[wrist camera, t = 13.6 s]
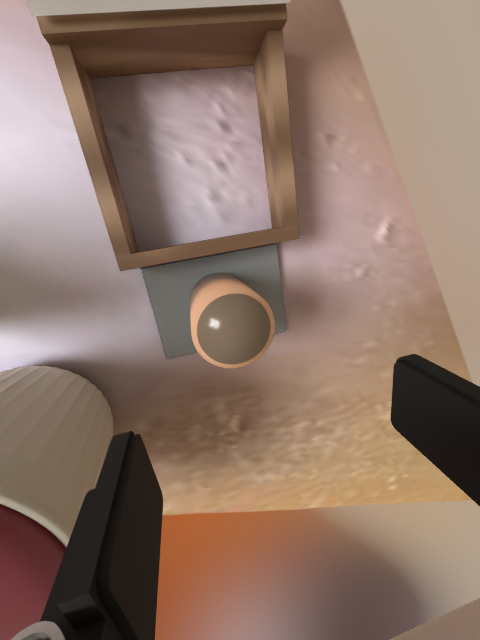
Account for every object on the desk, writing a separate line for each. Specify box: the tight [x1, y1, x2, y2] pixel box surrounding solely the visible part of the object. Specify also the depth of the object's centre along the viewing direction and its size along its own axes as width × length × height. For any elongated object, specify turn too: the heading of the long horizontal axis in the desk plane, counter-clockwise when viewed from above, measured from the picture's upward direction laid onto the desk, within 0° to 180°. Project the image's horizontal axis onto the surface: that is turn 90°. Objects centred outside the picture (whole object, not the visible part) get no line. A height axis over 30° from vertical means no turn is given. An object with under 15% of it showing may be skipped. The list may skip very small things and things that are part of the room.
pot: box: [189, 272, 275, 368], centre depth 24 cm, size 6×6×9 cm
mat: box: [141, 244, 286, 359], centre depth 28 cm, size 10×14×1 cm
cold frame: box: [36, 3, 299, 271], centre depth 22 cm, size 16×16×5 cm
